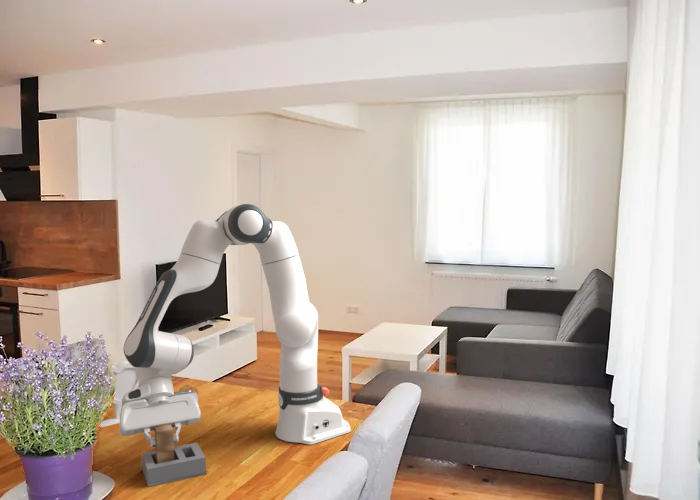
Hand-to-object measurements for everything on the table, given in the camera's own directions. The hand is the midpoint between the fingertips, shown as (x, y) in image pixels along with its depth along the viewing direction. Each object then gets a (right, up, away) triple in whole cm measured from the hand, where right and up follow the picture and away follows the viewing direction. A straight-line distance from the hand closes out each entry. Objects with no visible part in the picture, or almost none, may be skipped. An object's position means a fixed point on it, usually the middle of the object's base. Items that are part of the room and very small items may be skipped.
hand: (164, 444), depth 152 cm
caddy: (+2, -8, +2) cm, 8 cm away
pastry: (-9, -3, +58) cm, 59 cm away
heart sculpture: (-26, -5, +37) cm, 46 cm away
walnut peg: (0, -6, +1) cm, 6 cm away
